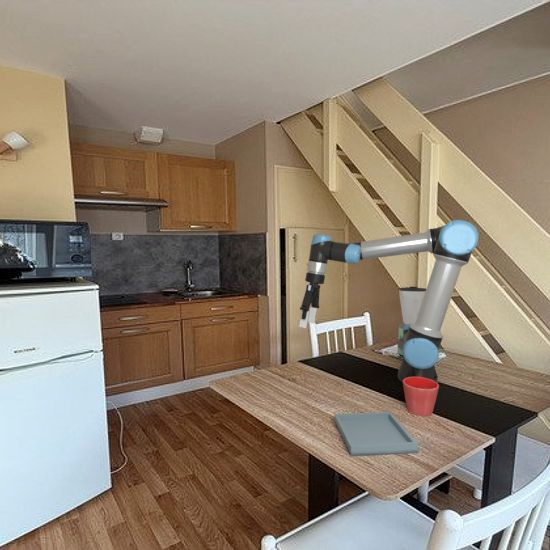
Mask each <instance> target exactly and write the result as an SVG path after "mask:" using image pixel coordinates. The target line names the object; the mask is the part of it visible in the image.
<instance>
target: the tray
mask: <svg viewBox="0 0 550 550" xmlns="http://www.w3.org/2000/svg"><path fill="white" fill-rule="evenodd" d="M334 424H335V426H336V428H337V430H338V432H339V434H340V436H341V438H342V440H343V442H344V444H345V446H346V447H345V448H347V451H348V453H349V454H350V457H362V456H363V457H364V456H382V455H383V456H384V455H402V454H404V455H406V454H419V442H417V440H416V439H415V438H414V437H413V435H412V434H411V433H410V432H409V431H408V430H407V429H406V428H405V427H404V426H403V424H402V423H401V421H399V420H398V418H397V417H396V416H395V415H394V414H393V412H391V411H385V412H382V411H381V412H380V411H379V412H377V411H376V412H360V413H359V412H357V413H354V412H353V413H335V414H334Z"/></svg>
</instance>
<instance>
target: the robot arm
mask: <svg viewBox="0 0 550 550" xmlns="http://www.w3.org/2000/svg"><path fill="white" fill-rule="evenodd" d="M479 235H480V234H479V232H478V229H477V228H476V226H474V224H472V223H471V222H469V221H467V220H461V219H454V220H451V221H449V222H447V223H446V224H444V225H442V226H438V227H434V228H428V229H426V231H425V232H419V233H412V234H405V235H398V236H391V237H385V238H378V239H372V240H363V241H358V242H357V241H356V242H352V243H351V242H350V243H346V242H339V241H334V240H333V239H332V236H331V235H328V234H327V235H326V234H320V233H315V234H313V236H312V239H311V244H310V250H309V258H308V261H307V263H306V266H307V267H306V268H307V269H306V271H307V272H306V275H305V282H308V283H309V284H306V288H305V292H304V295H303V298H302V299H303V300H302V303H301V305H300V307H299V310H300V311H301V314H300V319H299V326H298V327H299V328H304V329H306V328H307V327H308V326H307V325H308V323H309V324H312V325H313V324H315V323H316V318H317V317H316V316H317V312H318V309H319V308H320V293H321V292H320V290H321V285H323V284H325V280H326V279H325V278H326V276H325V275H326V274H327V267H328V260H329V261H334V262H339V263H345V264H346V263H347V264H349V265H350V264H353V265H357V264H359V261H363V260H371V259H378V258H386V257H393V256H394V257H395V256H401V255H410V254H418V253H419V254H420V253H425V252H426V253H430V254H432V255H433V258H434V259H435V261H434V264H433V268H432V271H431V274H430V276H429V280H428V284H427V286H426V292H425V295H424V298H423V301H422V304H421V307H420V310H419V313H418V316H417V319H416V322H415V323H414V324H405V325H404V328H403V349H402V351H403V352H402V353H403V357H402V360H401V363H400V366H399V368H398V371H397V379H398V380H399V381H400V382H401V383H403V380H404V379H405V378H407V377H423V378H427V379H430V380H433V381H435V382H436V383H439V376H438V372H437V370H436V366H435V364H436V363H437V362H438V361H439V360H438V359H439V357H440V356H439V355H440V352H439V350H440V346H441V343H442V341H443V337H444V335H443V333H442V332H441V329H442V327H443V323H444V320H445V318H446V314H447V311H448V308H449V305H450V302H451V300H452V297H453V293H454V290H455V287H456V284H457V282H458V279H459V275H460V273H461V270H462V267H463V266H465V265H466V266H467V264H468V263H469V261H470V259H471V256H472V253H473V251H474V250H475V249H476V247H477V245H478V242H479V239H480V237H479ZM332 240H333V241H332Z"/></svg>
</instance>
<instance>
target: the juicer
mask: <svg viewBox="0 0 550 550" xmlns="http://www.w3.org/2000/svg"><path fill="white" fill-rule="evenodd" d="M426 289H427V287H426V288H424V287H417V286H407V287H404V286H403V287H399V288H398V294H399V296H398V297H399V302H400V309H401V317H402V322H401V323H400V324H399V327H398V331H397V332H398V337H397V340H398V341H397V355H398V354H399V355H400V356H402V357H401V358H403V353H402V352H403V351H402V349H403V328H404V325H405V324H414V323H415V322H416V319H417V316H418V313H419V310H420V307H421V304H422V301H423V298H424V295H425V292H426Z"/></svg>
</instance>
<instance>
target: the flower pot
mask: <svg viewBox="0 0 550 550" xmlns="http://www.w3.org/2000/svg"><path fill="white" fill-rule="evenodd" d="M438 383H439V382H438ZM438 383H436V382H435V381H433V380H430V379H427V378H423V377H407V378H405V379H404V380H403V382H402V386H403V391H404V393H403V394H404V399H405V404H406V408H407V411H408V412H410V414H413V415H415V416H421V417H427V416H428V417H429V416H431V415H432V414H433V412H434V408H435V404H436V400H437V396H438V393H439V388H440V384H438Z"/></svg>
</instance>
